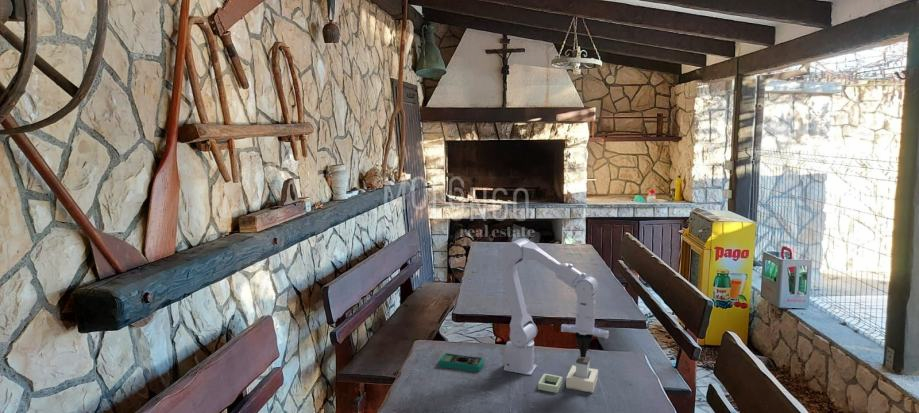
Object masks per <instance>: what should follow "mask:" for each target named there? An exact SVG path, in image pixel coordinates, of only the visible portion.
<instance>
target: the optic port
mask: <svg viewBox="0 0 919 413" xmlns="http://www.w3.org/2000/svg"><path fill="white" fill-rule="evenodd" d="M598 377H599V369H597V368H592V367H590V368H589V379H586V378H581V377H576V365H574V364H572V366H571V367H570V370H569V371H568V373H567V376H566V380H565V382H566V383H565V385H566V386H565V389H571V390H575V391H579V392H584V393H585V392H586V393H591V394H593V393H594V392H595V388H596V385H597V382H598V379H599V378H598Z"/></svg>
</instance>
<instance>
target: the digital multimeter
mask: <svg viewBox="0 0 919 413" xmlns="http://www.w3.org/2000/svg"><path fill="white" fill-rule="evenodd" d="M484 363H485V360H484V358H483V357H479V356H478V357H477V356H470V355H460V354H453V353H447V352H445V353H444V354H442V356H441V357H440V358H439V359H438V367H439V368H442V369H453V370H459V371H460V370H461V371H470V372H474V373H480V372H481V371H482V370H483V368H484V365H485V364H484Z"/></svg>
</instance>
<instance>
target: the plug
mask: <svg viewBox="0 0 919 413" xmlns="http://www.w3.org/2000/svg"><path fill="white" fill-rule="evenodd" d="M575 361H576V362H575V366H576V377H581V378H586V379H589V368H591V364H590V363H591V356H588V355H586V357H585V358H584V357H581V355H580V354H579V355H578V356H577V358H576V360H575Z"/></svg>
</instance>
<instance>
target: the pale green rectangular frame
mask: <svg viewBox="0 0 919 413" xmlns="http://www.w3.org/2000/svg"><path fill="white" fill-rule="evenodd" d="M563 377H564V376H560V375H555V374H550V373H543V374H542V376H541V378H540V379H539V380H538V383H537V390H540V391H545V392H550V393H555V394H558V393H559V391H558V390H560V389H559V388H561V387H562V385H561V384H563V381H564V380H563ZM546 382H550V383H546ZM551 382H552V383H555V384H551ZM560 386H561V387H560ZM557 392H558V393H557Z"/></svg>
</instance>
